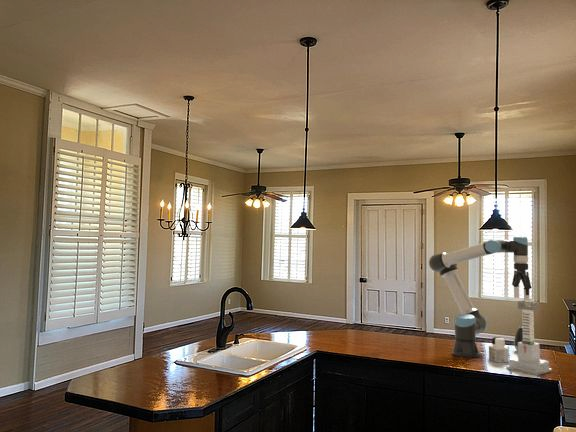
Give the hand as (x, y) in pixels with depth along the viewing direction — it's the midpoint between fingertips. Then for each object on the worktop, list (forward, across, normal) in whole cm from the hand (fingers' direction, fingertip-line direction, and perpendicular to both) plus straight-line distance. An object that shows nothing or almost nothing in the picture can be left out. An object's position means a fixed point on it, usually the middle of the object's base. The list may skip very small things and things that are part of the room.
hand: (521, 299), depth 268 cm
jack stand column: (+29, -22, +6) cm, 37 cm away
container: (+35, -4, +15) cm, 38 cm away
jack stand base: (+35, -22, +6) cm, 42 cm away
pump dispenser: (+35, +21, -9) cm, 42 cm away
